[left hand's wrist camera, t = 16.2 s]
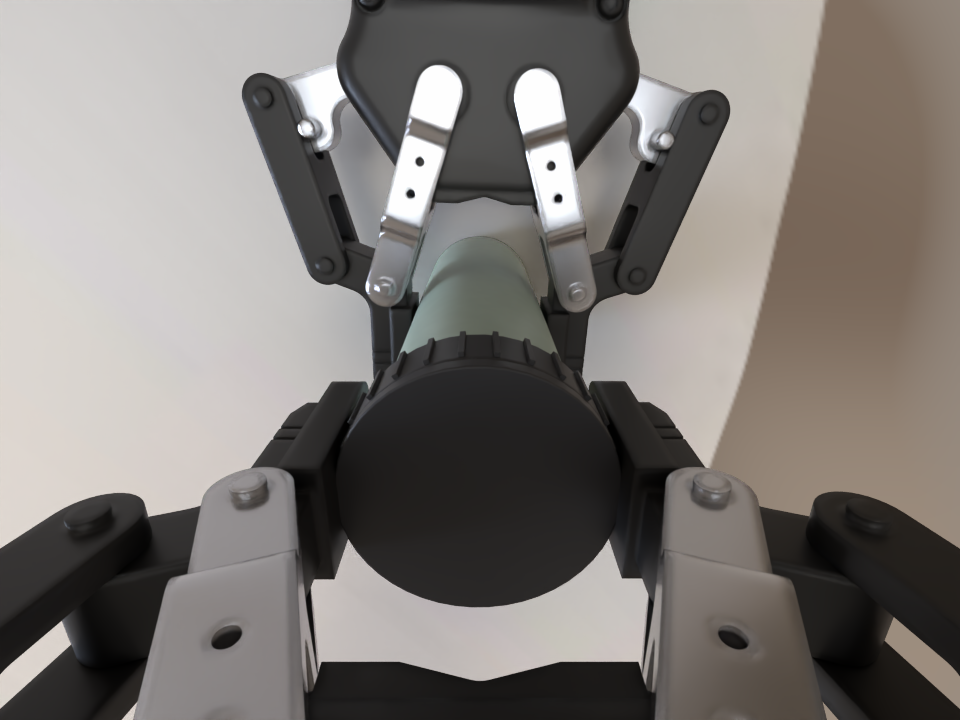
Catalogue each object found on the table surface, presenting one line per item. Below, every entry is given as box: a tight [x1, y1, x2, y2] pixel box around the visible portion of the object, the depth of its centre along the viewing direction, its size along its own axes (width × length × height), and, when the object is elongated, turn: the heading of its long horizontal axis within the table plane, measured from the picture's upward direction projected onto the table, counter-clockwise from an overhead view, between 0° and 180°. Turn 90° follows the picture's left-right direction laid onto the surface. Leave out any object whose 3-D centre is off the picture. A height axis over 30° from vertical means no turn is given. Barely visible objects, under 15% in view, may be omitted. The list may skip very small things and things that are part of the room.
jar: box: [397, 237, 561, 361], centre depth 17 cm, size 4×4×15 cm
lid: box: [335, 331, 621, 607], centre depth 10 cm, size 5×5×2 cm
